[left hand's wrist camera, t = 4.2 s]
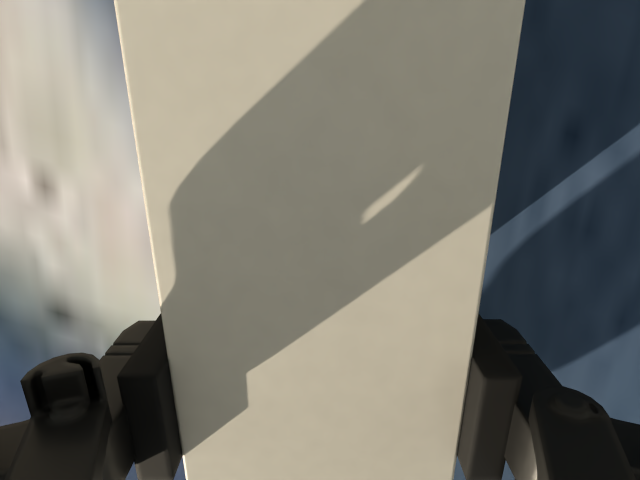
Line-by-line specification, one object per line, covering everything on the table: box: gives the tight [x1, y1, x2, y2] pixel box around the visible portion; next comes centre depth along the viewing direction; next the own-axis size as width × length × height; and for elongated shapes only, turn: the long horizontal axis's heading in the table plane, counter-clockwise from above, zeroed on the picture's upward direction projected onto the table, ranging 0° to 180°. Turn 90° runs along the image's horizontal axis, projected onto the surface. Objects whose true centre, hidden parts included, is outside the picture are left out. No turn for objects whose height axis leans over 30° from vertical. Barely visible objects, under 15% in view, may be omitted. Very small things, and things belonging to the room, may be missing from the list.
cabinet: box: [114, 0, 525, 480], centre depth 13 cm, size 16×6×11 cm, turn 0°
